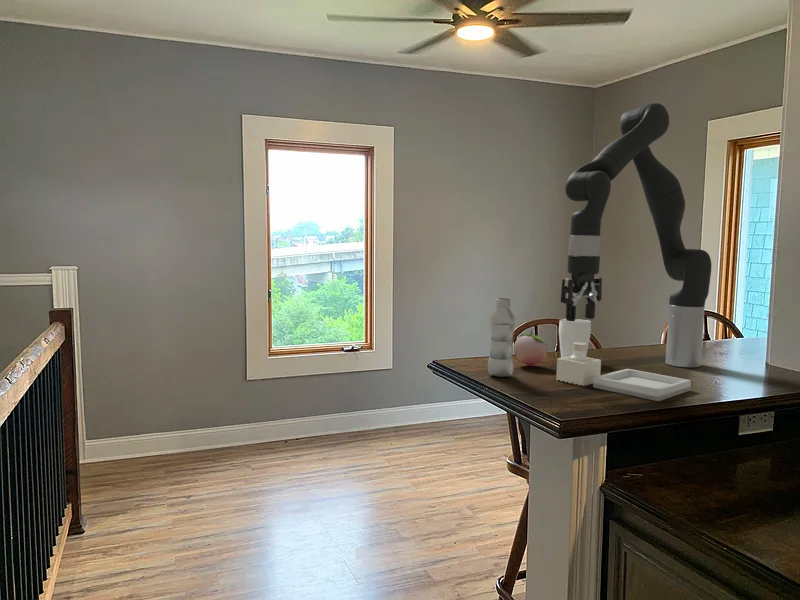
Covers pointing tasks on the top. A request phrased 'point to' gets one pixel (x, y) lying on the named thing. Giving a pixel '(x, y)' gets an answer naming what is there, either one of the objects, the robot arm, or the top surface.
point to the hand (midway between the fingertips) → (580, 319)
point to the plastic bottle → (501, 339)
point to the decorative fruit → (530, 349)
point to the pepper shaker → (579, 352)
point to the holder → (577, 370)
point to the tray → (642, 384)
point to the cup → (573, 335)
